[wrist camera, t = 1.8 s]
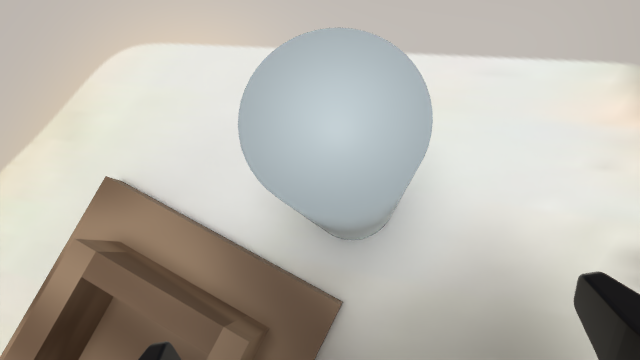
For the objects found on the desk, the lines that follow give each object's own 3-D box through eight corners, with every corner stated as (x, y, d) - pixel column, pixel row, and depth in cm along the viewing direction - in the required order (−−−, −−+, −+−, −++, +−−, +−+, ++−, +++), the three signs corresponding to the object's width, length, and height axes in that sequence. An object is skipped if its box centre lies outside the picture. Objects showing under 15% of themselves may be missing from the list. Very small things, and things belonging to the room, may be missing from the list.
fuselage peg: (371, 255, 22) (378, 249, 9) (295, 215, 23) (204, 160, 10) (409, 178, 22) (465, 72, 10) (333, 141, 23) (293, 0, 11)
